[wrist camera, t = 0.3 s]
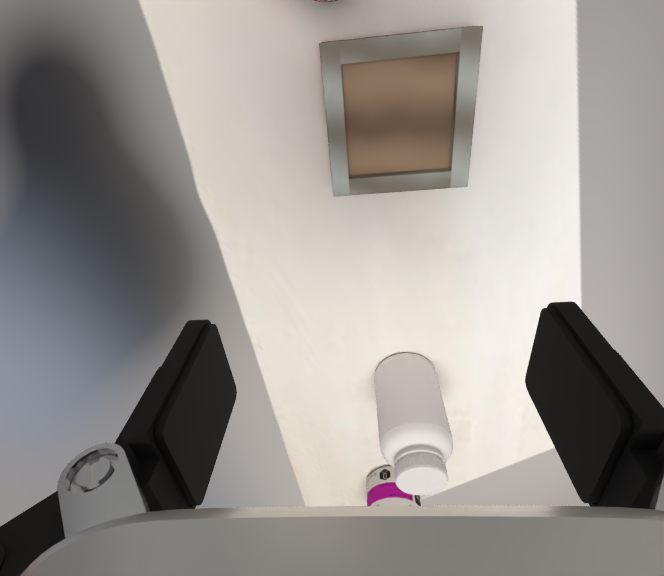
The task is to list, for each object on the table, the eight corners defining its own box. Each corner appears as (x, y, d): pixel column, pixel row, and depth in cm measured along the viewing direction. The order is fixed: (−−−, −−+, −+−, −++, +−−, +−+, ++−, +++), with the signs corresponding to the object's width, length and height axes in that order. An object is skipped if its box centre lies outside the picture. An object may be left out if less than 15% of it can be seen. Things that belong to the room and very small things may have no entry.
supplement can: (356, 477, 66) (357, 583, 53) (392, 456, 62) (402, 564, 50) (390, 497, 69) (398, 601, 56) (426, 478, 65) (444, 585, 53)
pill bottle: (419, 400, 55) (438, 509, 43) (365, 385, 54) (369, 493, 41) (446, 360, 51) (477, 469, 38) (388, 343, 50) (400, 450, 37)
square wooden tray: (321, 42, 32) (319, 43, 30) (472, 26, 31) (482, 25, 29) (334, 185, 39) (333, 196, 36) (459, 176, 38) (467, 186, 35)
